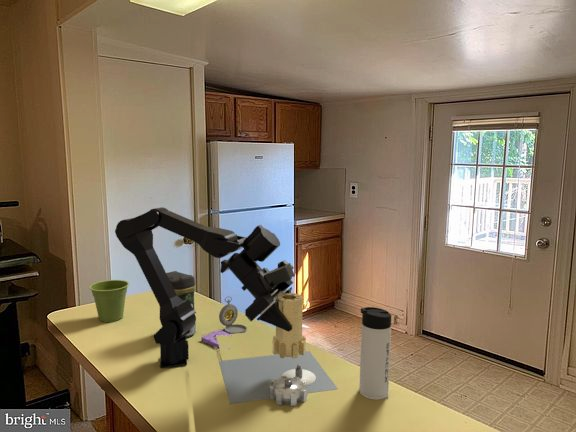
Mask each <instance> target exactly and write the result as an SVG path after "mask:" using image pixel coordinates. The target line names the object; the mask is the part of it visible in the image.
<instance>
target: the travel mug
mask: <svg viewBox="0 0 576 432" xmlns="http://www.w3.org/2000/svg"><path fill="white" fill-rule="evenodd" d="M360 314H362V316H361V319H362V320H361V330H360V331H361V337H360V361H359V362H360V363H359V364H360V365H359V366H360V367H359V389H358V390H359V393H360V395H361V396H362V397H365V398H367V399H370V400H384V399H386V401H387V400H389V385H390V365H391V363H390V361H391V342H392V341H391V340H392V314H391V313H389V311H387V310H385V309H383V308H379V307H374V306H367V307H366V306H365V307H361V308H360Z"/></svg>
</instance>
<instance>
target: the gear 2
mask: <svg viewBox="0 0 576 432" xmlns="http://www.w3.org/2000/svg"><path fill="white" fill-rule="evenodd" d="M307 385H308V384H307V383H306V382H302V381H300V378H299V377H294V378H287V376H281V379H278V380H275V379H273V380H272V381H271V386H269V398H270V401H273V400H274V401H275V404H276V405H277V406H282V405H290V407H297V404H298V403H300V402H301V403H305V402H306V401H307V398H308V397H307V396H308V393H307Z"/></svg>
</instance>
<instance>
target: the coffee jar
mask: <svg viewBox="0 0 576 432" xmlns="http://www.w3.org/2000/svg"><path fill="white" fill-rule="evenodd" d="M166 274H167V276H168V278H169V280H170V282H171V284H172V286H173V288H174V290H175V292H176V294H177V296H178V297H179V298H180V299H182V300H183V301H185V300H187V299H189V301H190V302H191V305H192V308H193V309H194V310H195V291H196V280H195V276H194V275H192V274H187V273H182V272H180V271H177V270H174V271H169V272H166ZM196 322H197V321H196ZM196 322H195V325H194V326H193V327H192V328H191V330H190V333H189V334H187V335H185V336H186V339H188V338H191V337H192V336H194V335H195V333H197V330H196V329H197V328H196V327H197V326H196V324H197V323H196Z"/></svg>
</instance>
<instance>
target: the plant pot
mask: <svg viewBox="0 0 576 432" xmlns="http://www.w3.org/2000/svg"><path fill="white" fill-rule="evenodd" d="M129 286H130V282H129V281H126V280H123V279H108V280H102V281H97V282H95V283H92V284H90V285H89V290H90V291H91V293H92V296H93V298H94V303H95V308H96V312H97V316H98V321H100V322H105V323H111V322H112V323H113V322H117V321H118V320H122V319H123V318H124V311H125V303H126V296H127V292H128V287H129Z"/></svg>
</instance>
